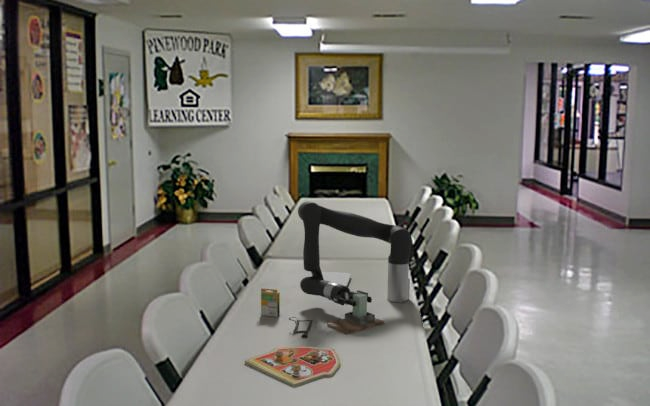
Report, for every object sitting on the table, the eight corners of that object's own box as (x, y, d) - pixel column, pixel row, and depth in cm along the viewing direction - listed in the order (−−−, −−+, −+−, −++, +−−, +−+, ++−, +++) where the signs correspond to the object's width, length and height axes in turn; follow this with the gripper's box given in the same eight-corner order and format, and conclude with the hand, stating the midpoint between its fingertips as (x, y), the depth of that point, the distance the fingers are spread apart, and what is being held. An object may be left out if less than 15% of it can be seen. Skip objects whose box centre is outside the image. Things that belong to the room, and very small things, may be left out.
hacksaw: (307, 339, 250) (307, 335, 249) (279, 338, 251) (279, 334, 250) (314, 319, 273) (314, 315, 273) (289, 318, 274) (289, 314, 274)
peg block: (359, 319, 269) (360, 292, 268) (366, 321, 266) (367, 295, 265) (352, 321, 267) (352, 294, 265) (359, 323, 264) (359, 296, 262)
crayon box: (279, 314, 277) (279, 288, 275) (277, 317, 274) (277, 289, 272) (263, 313, 279) (263, 286, 277) (260, 315, 276) (260, 288, 274)
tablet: (351, 277, 339) (351, 273, 339) (346, 291, 314) (346, 286, 313) (320, 276, 341) (320, 271, 341) (312, 289, 316) (312, 285, 316)
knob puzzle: (241, 363, 226) (241, 351, 226) (305, 342, 247) (305, 331, 246) (298, 390, 206) (298, 377, 205) (363, 365, 226) (363, 352, 225)
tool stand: (364, 316, 276) (364, 306, 276) (384, 323, 267) (384, 313, 267) (327, 325, 264) (327, 316, 263) (347, 334, 255) (347, 324, 254)
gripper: (323, 286, 271) (350, 296, 259) (349, 281, 280) (376, 289, 268) (323, 304, 272) (349, 314, 260) (349, 298, 281) (376, 307, 269)
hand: (363, 302), depth 264 cm, fingers open, 8 cm apart
